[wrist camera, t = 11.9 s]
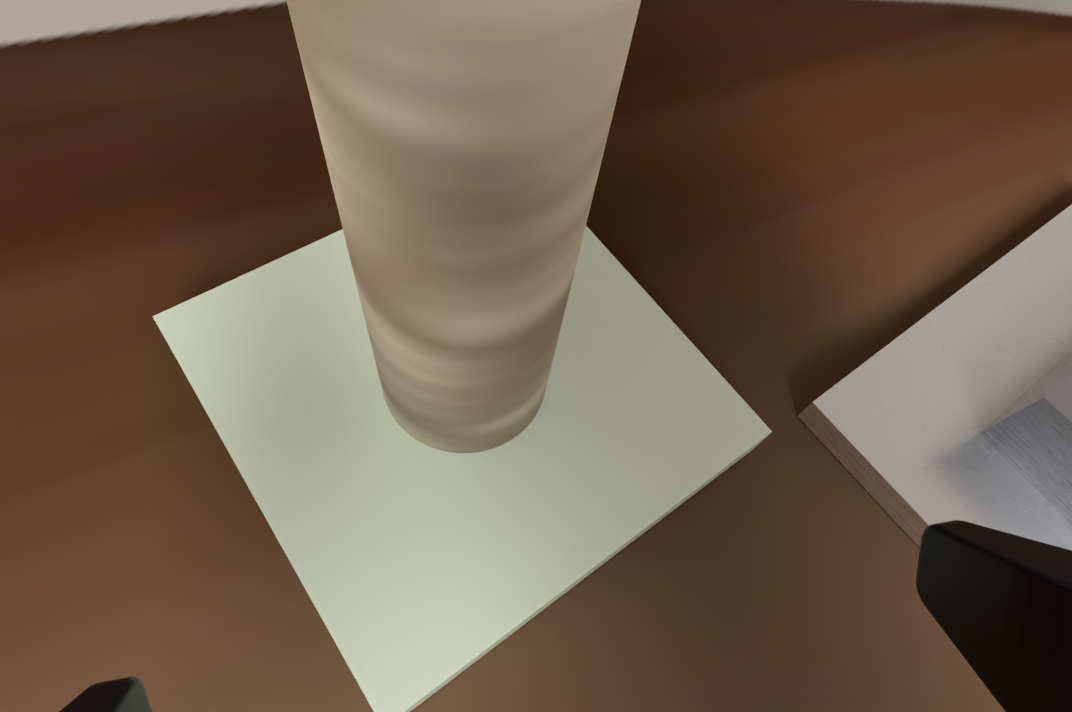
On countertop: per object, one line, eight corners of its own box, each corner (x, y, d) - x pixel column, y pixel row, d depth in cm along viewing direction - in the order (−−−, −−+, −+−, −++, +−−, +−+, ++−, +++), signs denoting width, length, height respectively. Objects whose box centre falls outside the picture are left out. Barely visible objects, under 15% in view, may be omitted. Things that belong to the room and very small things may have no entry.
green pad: (751, 450, 20) (772, 431, 19) (389, 727, 16) (383, 727, 14) (513, 180, 24) (516, 148, 23) (172, 343, 20) (152, 316, 18)
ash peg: (565, 332, 19) (684, -132, 9) (518, 475, 17) (602, 90, 7) (417, 287, 20) (364, -216, 9) (354, 422, 18) (190, -27, 7)
